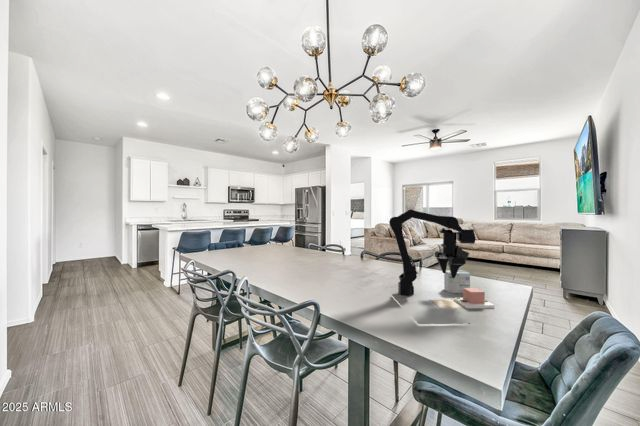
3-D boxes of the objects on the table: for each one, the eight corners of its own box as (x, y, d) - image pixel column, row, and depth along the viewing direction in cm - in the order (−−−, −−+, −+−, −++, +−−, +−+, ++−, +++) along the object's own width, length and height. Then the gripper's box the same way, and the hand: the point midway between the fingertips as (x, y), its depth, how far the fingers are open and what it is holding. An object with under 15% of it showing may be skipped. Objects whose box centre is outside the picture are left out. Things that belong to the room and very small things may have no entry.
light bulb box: (464, 290, 140) (465, 270, 140) (470, 294, 133) (470, 273, 133) (443, 290, 141) (443, 269, 141) (448, 294, 134) (448, 272, 134)
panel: (466, 310, 113) (466, 304, 113) (454, 301, 123) (454, 296, 123) (494, 309, 113) (494, 304, 113) (479, 301, 123) (479, 296, 123)
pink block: (470, 303, 115) (470, 292, 115) (462, 299, 121) (463, 288, 121) (484, 303, 115) (484, 291, 115) (475, 298, 121) (476, 287, 121)
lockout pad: (439, 309, 113) (439, 307, 113) (429, 301, 123) (429, 299, 123) (463, 309, 114) (463, 307, 114) (450, 301, 124) (450, 299, 124)
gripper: (478, 245, 118) (477, 281, 118) (456, 240, 137) (455, 271, 137) (453, 245, 118) (451, 280, 118) (434, 240, 137) (433, 270, 137)
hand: (448, 275), depth 127 cm, fingers open, 9 cm apart
